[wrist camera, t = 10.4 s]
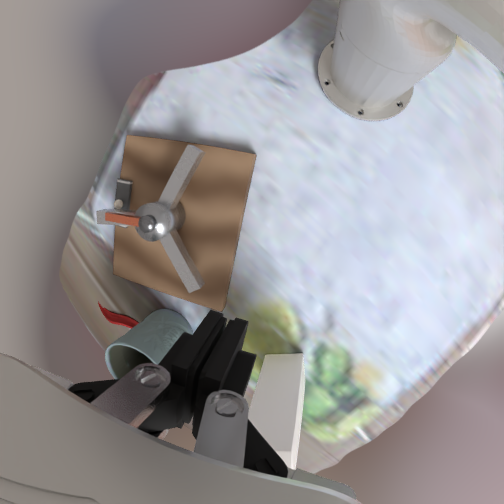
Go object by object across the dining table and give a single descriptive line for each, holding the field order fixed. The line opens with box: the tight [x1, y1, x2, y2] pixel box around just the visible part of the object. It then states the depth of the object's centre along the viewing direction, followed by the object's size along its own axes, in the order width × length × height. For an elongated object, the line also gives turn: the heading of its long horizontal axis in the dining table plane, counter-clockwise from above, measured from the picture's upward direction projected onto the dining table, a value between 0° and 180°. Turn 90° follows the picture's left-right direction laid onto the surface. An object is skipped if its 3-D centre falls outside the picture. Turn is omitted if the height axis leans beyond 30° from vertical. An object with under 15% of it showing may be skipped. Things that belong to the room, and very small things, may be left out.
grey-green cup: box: [105, 309, 193, 379], centre depth 41 cm, size 10×10×12 cm
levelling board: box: [113, 135, 256, 312], centre depth 40 cm, size 22×19×2 cm
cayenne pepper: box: [98, 302, 139, 329], centre depth 48 cm, size 12×5×2 cm, turn 56°
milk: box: [248, 353, 305, 470], centre depth 33 cm, size 6×6×22 cm
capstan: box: [97, 145, 206, 293], centre depth 36 cm, size 16×18×6 cm
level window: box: [115, 179, 133, 228], centre depth 39 cm, size 7×2×1 cm, turn 167°
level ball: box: [114, 199, 123, 209], centre depth 39 cm, size 1×1×1 cm
